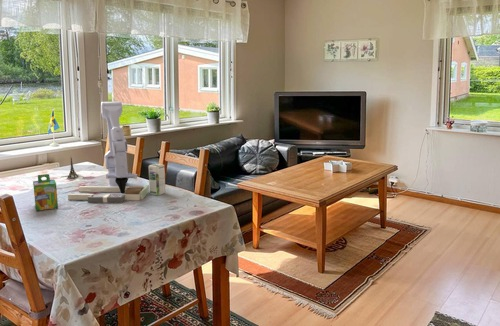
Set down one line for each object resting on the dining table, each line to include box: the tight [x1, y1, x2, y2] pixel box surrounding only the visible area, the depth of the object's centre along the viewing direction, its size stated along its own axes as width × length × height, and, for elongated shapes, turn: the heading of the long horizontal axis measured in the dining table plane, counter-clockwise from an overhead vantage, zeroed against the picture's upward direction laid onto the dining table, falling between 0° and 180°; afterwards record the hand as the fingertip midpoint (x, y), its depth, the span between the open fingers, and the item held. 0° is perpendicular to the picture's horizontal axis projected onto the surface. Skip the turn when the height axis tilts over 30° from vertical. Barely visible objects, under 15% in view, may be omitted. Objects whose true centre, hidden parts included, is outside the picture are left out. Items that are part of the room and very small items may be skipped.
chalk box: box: [32, 173, 59, 212], centre depth 197 cm, size 9×9×15 cm
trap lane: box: [67, 184, 150, 204], centre depth 213 cm, size 18×35×4 cm, turn 89°
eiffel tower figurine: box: [60, 156, 88, 180], centre depth 247 cm, size 15×10×13 cm
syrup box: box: [148, 163, 166, 196], centre depth 217 cm, size 6×6×14 cm
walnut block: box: [124, 185, 145, 194], centre depth 215 cm, size 7×7×4 cm
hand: (122, 192), depth 215 cm, fingers closed
